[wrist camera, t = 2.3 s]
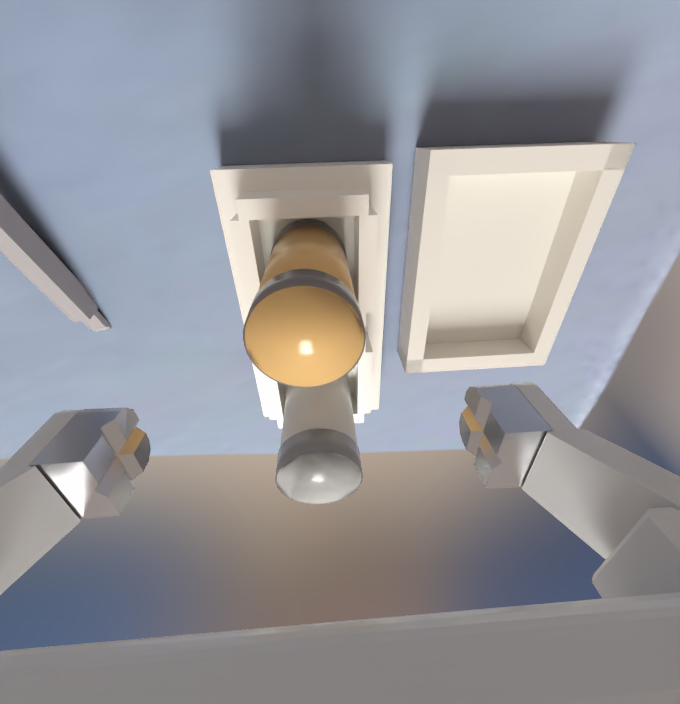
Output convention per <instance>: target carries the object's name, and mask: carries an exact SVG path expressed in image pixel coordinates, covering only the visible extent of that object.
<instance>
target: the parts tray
mask: <svg viewBox="0 0 680 704" xmlns="http://www.w3.org/2000/svg"><path fill="white" fill-rule="evenodd" d="M634 146H635V143H619V142H566V143H535V144H505V145H475V146H444V147H416V150H415V161H414V172H413V184H412V195H411V206H410V217H409V228H408V239H407V250H406V261H405V272H404V283H403V294H402V306H401V317H400V328H399V339H398V350H397V351H398V354H399V357H400V359H401V362H402V365H403V367H404V370H405V373H418V372H435V371H452V370H468V369H485V368H502V367H519V366H536V365H544V364H545V362H546V360H547V357H548V355H549V352H550V350H551V347H552V345H553V343H554V340H555V338H556V335H557V333H558V330H559V328H560V326H561V323H562V321H563V318H564V316H565V313H566V311H567V309H568V306H569V304H570V301H571V299H572V296H573V294H574V291H575V289H576V287H577V284H578V282H579V279H580V277H581V274H582V272H583V270H584V267H585V265H586V262H587V260H588V257H589V255H590V253H591V250H592V248H593V245H594V243H595V240H596V238H597V236H598V233H599V231H600V228H601V226H602V223H603V221H604V219H605V216H606V214H607V211H608V209H609V206H610V204H611V202H612V199H613V197H614V194H615V192H616V189H617V187H618V184H619V182H620V180H621V177H622V175H623V172H624V170H625V167H626V165H627V163H628V160H629V158H630V155H631V153H632V150H633V148H634Z"/></svg>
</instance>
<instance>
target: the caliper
mask: <svg viewBox="0 0 680 704" xmlns="http://www.w3.org/2000/svg"><path fill="white" fill-rule="evenodd" d="M0 251H1V252H2V253H3V254H4V255H5V256H6V257H7V258H8V259H9V260H10V261H11V262H12V263H13V264H14V265H15V266H16V267H17V268H18V269H19V270H20V271H21V272H22V273H23V274H24V275H25V276H26V277H27V278H28V279H29V280H30V281H31V282H33V283H34V284H35V285H36V286H37V287H38V288H39V289H40V290H41V291H42V292H43V293H44V294H45V295H46V296H47V297H48V298H49V299H50V300H51V301H52V302H53V303H54V304H55V305H56V306H57V307H58V308H59V309H60V310H61V311H62V312H63V313H64V314H65V315H66V316H67V317H68V318H70V319H71V320H72V321H73V322H74V323H75V322H79V321H82V322H83V323H84V324H85V325H86V326H87V327H88V328H89V329H90V330H94V331H95V332H97V331H101V330H106V329H110V328H111V325H110V324H109V323H108V321H107V320H106V319H105V318H104V317H103V316H102V315H101V314H100V313H99V312H98V311H97V309H98V307H97V305H96V304H95V302H94V301H93V300H92V298H91V297H90V295H89V294H88V293H87V291H86V290H85V288H84V287H83V285H82V284H81V283H80V282H79V281H78V279H77V278H76V277H75V276H74V275H73V274H72V273H71V272H70V271H69V269H68V268H67V267H66V266H65V265H64V264H63V263H62V262H61V261H60V260H59V258H58V257H57V256H56V255H55V254H54V253H53V252H52V251H51V250H50V249H49V247H48V246H47V245H46V244H45V243H44V242H43V241H42V240H41V239H40V237H39V236H38V235H37V234H36V233H35V232H34V231H33V230H32V229H31V228H30V226H29V225H28V224H27V223H26V222H25V221H24V220H23V219H22V218H21V217H20V215H19V214H18V213H17V212H16V211H15V210H14V209H13V208H12V207H11V205H10V204H9V203H8V202H7V201H6V200H5V199H4V198H3V197H2V196H1V194H0Z"/></svg>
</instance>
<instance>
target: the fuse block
mask: <svg viewBox="0 0 680 704" xmlns="http://www.w3.org/2000/svg"><path fill="white" fill-rule="evenodd" d="M392 166H393V164H392V163H390V162H387V161H385V160H381V161H352V162H323V163H294V164H265V165H236V166H220V167H217V168H214V169H211V170H210V173H211V178H212V182H213V187H214V191H215V196H216V200H217V205H218V209H219V214H220V219H221V223H222V228H223V232H224V237H225V241H226V246H227V250H228V255H229V259H230V264H231V268H232V273H233V278H234V282H235V287H236V291H237V296H238V300H239V305H240V309H241V314H242V318H243V323H244V324H245V321H246V318H247V315H248V313H249V310H250V307H251V304H252V302H253V299H254V297H255V295H256V293H257V292H258V290H259V287H260V284H261V281H262V279H263V276H264V273H265V270H266V267H267V265H268V262H269V259H270V254H271V250H272V247H273V244H274V242H275V239H276V237H277V235H278V234H279V233H280V231H281V230H282V229H283V228H284V227H285V226H287V225H288V224H290V223H292V222H294V221H296V220H300V219H315V220H319V221H322V222H324V223H326V224H328V225H329V226H331V227H332V228H333V229H334V230H335V231H336V232H337V233H338V235H339V236H340V237H341V239H342V241H343V244H344V247H345V251H346V255H347V262H348V268H349V272H350V276H351V280H352V284H353V289H354V293H355V297H356V299H357V301H358V304H359V307H360V311H361V315H362V319H363V323H364V327H365V333H366V341H365V347H364V351H363V354H362V356H361V358H360V360H359V361H358V363H357V364H356V365H355V367H354V368H353V369H352V370H351V371H350V372H349V373H348V374H346V375H345V376H344V377H342V378H340V379H339V380H337V381H335V382H333V383H330V384H327V385H324V386H319V387H312V388H299V387H292V386H288V385H284V384H281V383H279V382H276V381H274V380H272V379H271V378H269V377H267V376H266V375H264V374H263V373H262V372H261V371H260V370H259V369H257V367H256V366H255V365H254V364H253V363H252V364H253V368H254V373H255V377H256V382H257V386H258V391H259V395H260V400H261V405H262V409H263V414H264V417H265V416H270V419H277V423H278V428H282V435H281V445H280V449H279V452H278V461H277V470H276V485H277V487H278V489H279V490H280V491H281V493H283V494H284V495H285V496H287V497H288V498H290V499H292V500H294V501H297V502H301V503H306V504H328V503H333V502H336V501H339V500H342V499H344V498H346V497H348V496H350V495H351V494H353V493H354V492H355V491H356V490H357V489H358V487H359V486H360V484H361V482H362V477H363V476H362V468H361V461H360V453H359V448H358V446H357V439H356V431H355V424H354V423H364V413H370V412H371V410H375V409H379V392H380V375H381V357H382V340H383V322H384V305H385V288H386V270H387V253H388V235H389V218H390V201H391V183H392Z"/></svg>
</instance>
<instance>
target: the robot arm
mask: <svg viewBox="0 0 680 704" xmlns="http://www.w3.org/2000/svg"><path fill="white" fill-rule="evenodd" d="M465 401H466V403H467V405H468V407H467V408H466V409H465V410H464V411H463V412H461V417H460V422H459V425H460V434H461V438H462V441H463V443H464V446H465V448H466V450H468V451H469V452H471V453H472V454H473V455H475V456H476V458H475V463H474V466H475V468H476V470H477V472H478V474H479V476H480V478H481V480H482V482H483V484H484V486H485V488H507V487H522V489H523V490H524V491H525V492H526V493H527V494H529V495H530V496H531V497H532V498H533V499H534V500H536V501H537V502H538V503H539V504H541V505H542V506H543V507H544V508H545V509H546V510H548V511H549V512H550V513H551V514H552V515H553V516H555V517H556V518H557V519H558V520H559V521H561V522H562V523H563V524H564V525H565V526H567V527H568V528H569V529H570V530H571V531H572V532H574V533H575V534H576V535H577V536H578V537H580V538H581V539H582V540H583V541H584V542H586V543H587V544H588V545H589V546H590V547H592V548H593V549H594V550H595V551H596V552H598V553H599V554H600V555H601V556H602V557H603V558H605V559H606V560H605V561H604V563H603V564H602V565H601V566H600V567H599V568H598V570H597V571H596V572H595V573H594V576H593V579H592V582H593V584H594V585H595V587H596V589H597V590H598V592H599V594H600V595H601V597H602V599H595V600H583V601H572V602H560V603H548V604H537V605H525V606H515V607H502V608H491V609H479V610H468V611H456V612H445V613H433V614H422V615H410V616H398V617H387V618H375V619H364V620H353V621H341V622H331V623H330V622H329V623H318V624H307V625H295V626H283V627H271V628H260V629H249V630H237V631H225V632H214V633H202V634H192V635H179V636H169V637H156V638H145V639H133V640H122V641H110V642H99V643H88V644H76V645H64V646H53V647H42V648H31V649H18V650H7V651H0V704H680V477H679V476H677V475H675V474H673V473H671V472H669V471H667V470H665V469H663V468H661V467H659V466H657V465H655V464H653V463H651V462H649V461H647V460H645V459H643V458H641V457H639V456H637V455H635V454H633V453H631V452H629V451H627V450H625V449H623V448H621V447H619V446H617V445H615V444H613V443H611V442H609V441H607V440H605V439H603V438H601V437H599V436H597V435H595V434H593V433H591V432H589V431H587V430H585V429H581V430H578V429H577V428H576V427H575V426H574V425H573V424H572V423H571V422H570V421H569V420H568V418H567V417H566V416H565V415H564V414H563V413H562V412H561V411H560V410H559V409H558V408H557V406H556V405H555V404H554V403H553V402H552V401H551V400H550V399H549V398H548V397H547V396H546V395H545V393H544V392H543V391H542V390H541V389H540V388H539V387H538V386H537V385H536V384H534V383H532V382H524V383H512V384H503V385H489V386H474V387H469V388H468V390H467V391H466V395H465ZM138 421H139V419H138V417H137V415H136V414H135V412H134V410H133V409H129V408H106V409H84V410H64V411H61V412H58V413H55V414H54V415H53V416H52V417H51V418H50V419H49V420H48V421H47V422H46V423H45V424H44V425H43V426H42V427H41V428H40V429H39V430H38V431H37V432H36V433H35V434H34V435H33V436H32V437H31V438H30V439H29V440H28V441H27V442H26V443H25V444H24V445H23V446H22V447H21V448H20V449H19V450H18V451H17V452H16V453H15V454H14V455H13V456H12V457H11V458H10V459H9V461H8V462H7V463H6V464H5V465H4V466H3V467H2V468H0V595H1V594H2V593H3V592H4V591H5V590H6V589H7V588H8V587H9V586H10V585H11V584H12V583H13V582H15V581H16V580H17V579H18V578H19V577H20V576H21V575H22V574H24V573H25V572H26V571H27V570H28V569H29V568H30V567H31V566H32V565H33V564H34V563H36V562H37V561H38V560H39V559H40V558H41V557H42V556H43V555H44V554H45V553H46V552H48V551H49V550H50V549H51V548H52V547H53V546H54V545H55V544H56V543H57V542H58V541H60V540H61V539H62V538H63V537H64V536H65V535H66V534H67V533H68V532H69V531H71V529H73V528H74V527H75V526H76V525H77V524H78V523H79V522H80V519H87V518H97V517H107V516H117V515H120V514H121V512H122V511H123V509H124V507H125V505H126V503H127V501H128V499H129V497H130V496H131V494H132V492H133V490H134V485H133V482H132V480H133V479H135V478H136V477H137V476H138V475H140V474H141V473H142V472H143V471H144V469H145V467H146V465H147V463H148V461H149V455H150V443H149V439H148V437H147V435H146V433H145V432H143V431H142V430H140V429H139V428H137V427H136V425H137V423H138Z"/></svg>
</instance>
